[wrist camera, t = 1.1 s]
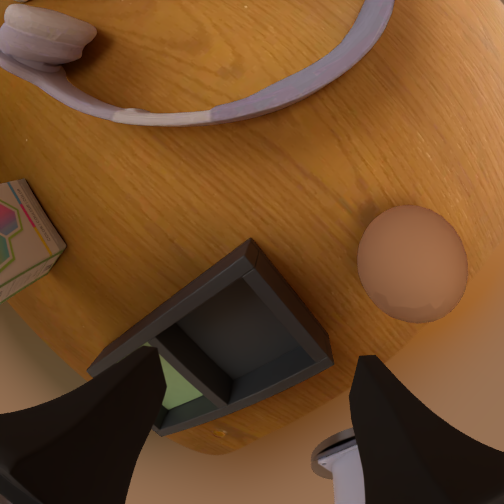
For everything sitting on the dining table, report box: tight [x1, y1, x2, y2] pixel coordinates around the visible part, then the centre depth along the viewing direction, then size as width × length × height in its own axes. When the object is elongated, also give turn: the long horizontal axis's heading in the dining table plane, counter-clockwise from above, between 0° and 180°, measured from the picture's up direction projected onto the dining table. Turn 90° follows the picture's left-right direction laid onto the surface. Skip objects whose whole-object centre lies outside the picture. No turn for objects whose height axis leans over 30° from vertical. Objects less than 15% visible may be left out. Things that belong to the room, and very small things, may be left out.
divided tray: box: [87, 238, 334, 437], centre depth 18 cm, size 8×15×3 cm, turn 128°
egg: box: [357, 205, 468, 323], centre depth 12 cm, size 5×5×7 cm
